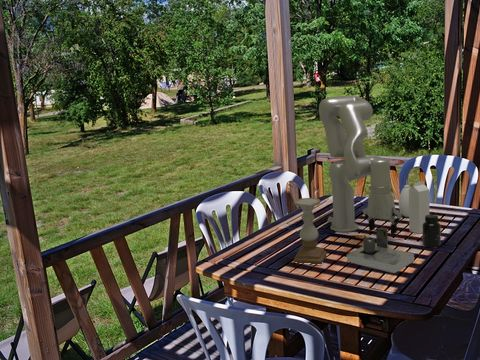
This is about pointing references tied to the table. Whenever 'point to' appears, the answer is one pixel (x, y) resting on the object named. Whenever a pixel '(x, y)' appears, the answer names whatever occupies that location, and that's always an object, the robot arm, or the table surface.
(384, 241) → the dark grey cylinder
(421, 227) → the milk
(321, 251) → the candle holder
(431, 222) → the supplement bottle
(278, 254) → the table surface
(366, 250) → the jig
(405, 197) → the sauce bottle
